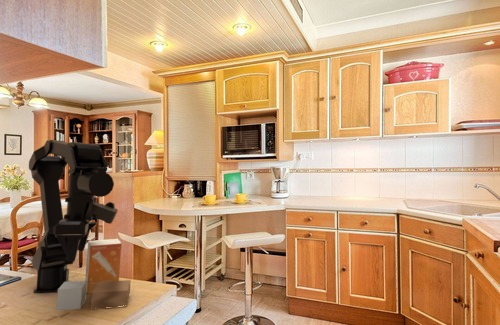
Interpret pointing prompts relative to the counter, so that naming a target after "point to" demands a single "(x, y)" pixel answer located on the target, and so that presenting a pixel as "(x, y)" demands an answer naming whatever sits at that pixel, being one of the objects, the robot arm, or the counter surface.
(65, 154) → the robot arm
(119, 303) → the base block
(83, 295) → the cube
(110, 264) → the small box
